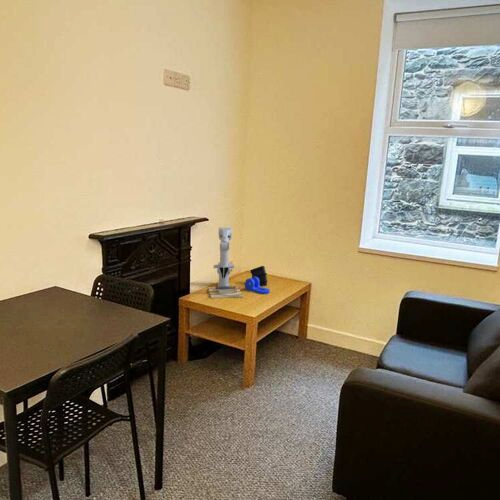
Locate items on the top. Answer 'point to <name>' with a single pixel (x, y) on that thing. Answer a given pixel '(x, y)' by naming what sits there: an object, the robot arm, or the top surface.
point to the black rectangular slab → (260, 275)
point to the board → (217, 295)
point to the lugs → (233, 289)
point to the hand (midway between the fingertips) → (223, 277)
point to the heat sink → (225, 290)
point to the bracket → (255, 286)
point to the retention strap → (225, 287)
